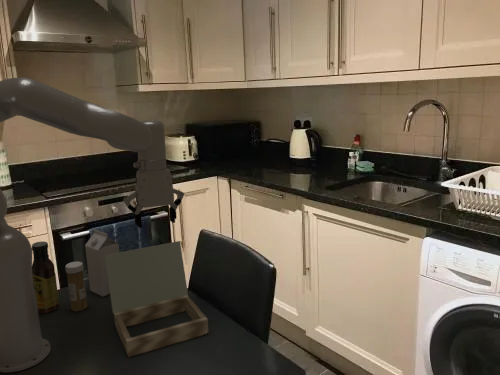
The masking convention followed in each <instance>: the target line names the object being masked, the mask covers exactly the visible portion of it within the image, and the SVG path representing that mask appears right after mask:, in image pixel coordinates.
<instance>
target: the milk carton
mask: <svg viewBox="0 0 500 375" xmlns="http://www.w3.org/2000/svg"><path fill="white" fill-rule="evenodd" d="M108 235H109V234H108V233H107V232H103V231H100V230H98V229H93V234H91V237H90V238H89V239H88V241H87V242H86V243H85V244H84V245H85V246H84V249H85V256H86V257H85V258H86V264H87V272H88V282H89V290H90V291H91V292H92V293H94V294H97V295H99V296H100V297H105V296H108V295H110V290H109V283H108V276H107V269H106V263H105V256H104V255H108V254H114V253H119V252H120V246H119V243H118V242H117V241H116V240H114V239H112V238H110V237H109V236H108Z"/></svg>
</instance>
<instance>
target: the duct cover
mask: <svg viewBox="0 0 500 375" xmlns="http://www.w3.org/2000/svg"><path fill="white" fill-rule="evenodd" d="M181 244H182V243H181V241H180V240H179V241H173V242H166V243H162V244H157V245H152V246H146V247H140V248H135V249H130V250H125V251H119V253H114V254H108V255H104V256H105V263H106V269H107V276H108V283H109V290H110V294H109V296H110V301H111V302H110V303H111V311H112V314H113V315H114V313H118V312H122V311H126V310H130V309H134V308H138V307H142V306H146V305H150V304H154V303H158V302H162V301H166V300H170V299H174V298H178V297H182V296H186V295H188V296H189V293H188V287H187V286H188V285H187V279H186V272H185V265H184V257H183V252H182V245H181Z"/></svg>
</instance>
